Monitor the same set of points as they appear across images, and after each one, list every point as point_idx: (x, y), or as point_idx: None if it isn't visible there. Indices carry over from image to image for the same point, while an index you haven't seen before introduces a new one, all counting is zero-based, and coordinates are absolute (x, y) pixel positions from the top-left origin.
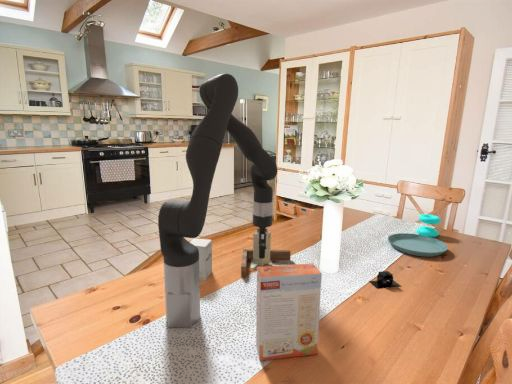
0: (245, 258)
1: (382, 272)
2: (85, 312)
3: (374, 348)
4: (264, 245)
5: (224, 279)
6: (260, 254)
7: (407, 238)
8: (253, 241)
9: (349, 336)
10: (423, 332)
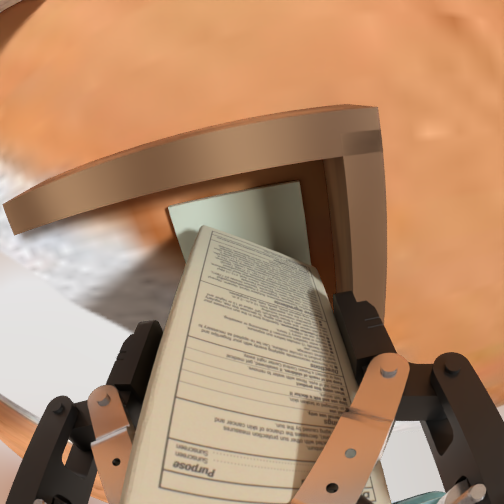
0: (133, 189)
1: None
2: None
3: (18, 441)
4: (78, 456)
5: (3, 100)
6: (118, 358)
7: (438, 498)
8: (150, 383)
9: (15, 429)
10: (92, 488)
